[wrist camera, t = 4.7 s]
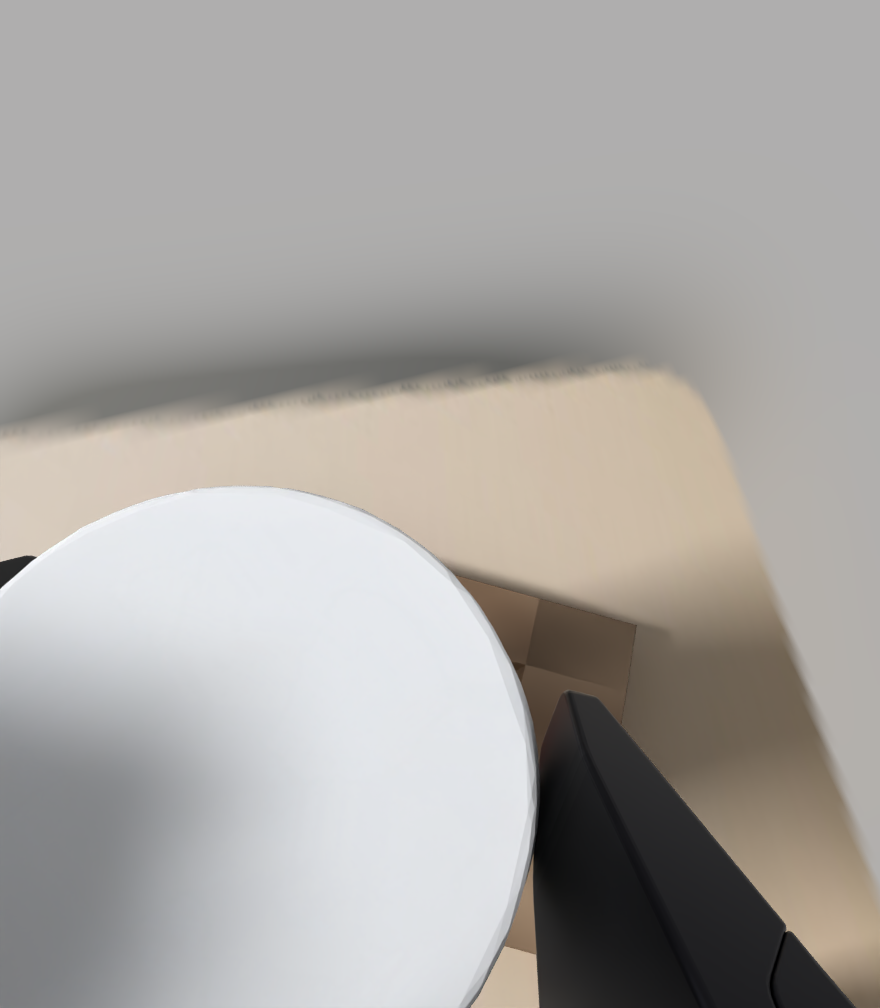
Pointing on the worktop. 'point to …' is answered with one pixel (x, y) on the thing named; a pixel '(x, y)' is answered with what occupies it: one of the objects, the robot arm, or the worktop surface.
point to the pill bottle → (255, 764)
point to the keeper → (555, 676)
